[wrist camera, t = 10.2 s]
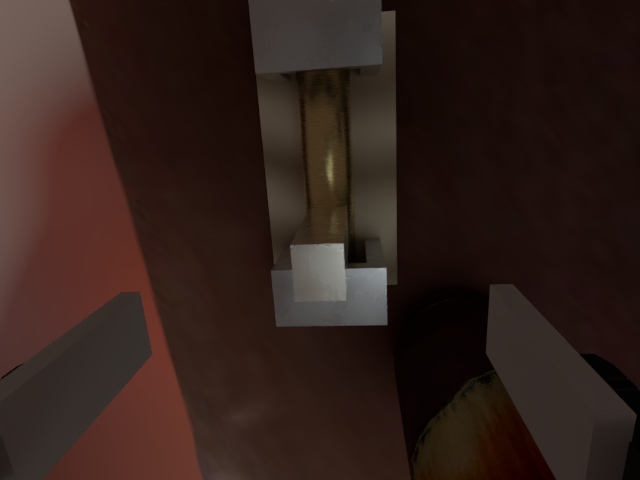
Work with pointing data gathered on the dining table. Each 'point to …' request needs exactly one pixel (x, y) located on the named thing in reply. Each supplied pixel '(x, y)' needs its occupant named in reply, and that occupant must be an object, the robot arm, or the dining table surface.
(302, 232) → the slide bolt
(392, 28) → the plank
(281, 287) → the socket
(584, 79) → the dining table surface
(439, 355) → the vase
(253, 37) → the sleeve
